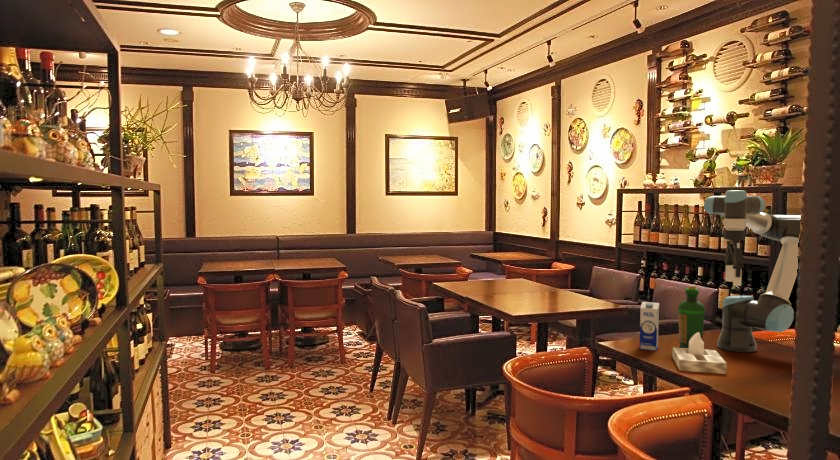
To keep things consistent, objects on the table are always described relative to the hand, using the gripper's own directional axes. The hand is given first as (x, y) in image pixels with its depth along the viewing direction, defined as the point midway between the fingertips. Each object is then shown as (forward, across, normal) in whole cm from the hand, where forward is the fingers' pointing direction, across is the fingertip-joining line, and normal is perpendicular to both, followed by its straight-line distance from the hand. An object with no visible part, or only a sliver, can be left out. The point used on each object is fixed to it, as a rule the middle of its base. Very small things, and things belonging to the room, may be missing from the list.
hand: (733, 283), depth 234 cm
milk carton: (+32, -16, -29) cm, 46 cm away
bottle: (+32, -18, -12) cm, 39 cm away
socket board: (+32, +7, -13) cm, 35 cm away
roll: (+32, +2, -13) cm, 34 cm away
